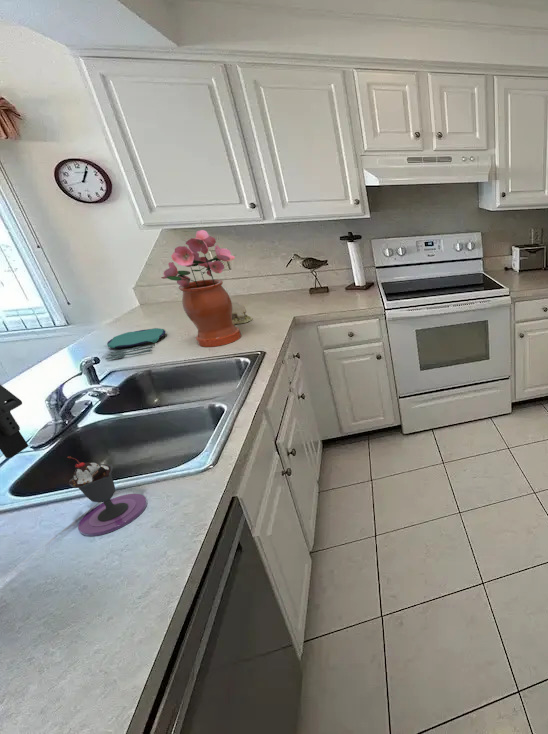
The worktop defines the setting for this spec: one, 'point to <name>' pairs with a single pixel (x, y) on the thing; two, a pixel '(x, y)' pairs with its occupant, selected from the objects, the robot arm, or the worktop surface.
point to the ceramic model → (239, 314)
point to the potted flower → (205, 291)
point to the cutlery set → (134, 341)
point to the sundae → (97, 487)
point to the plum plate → (96, 527)
